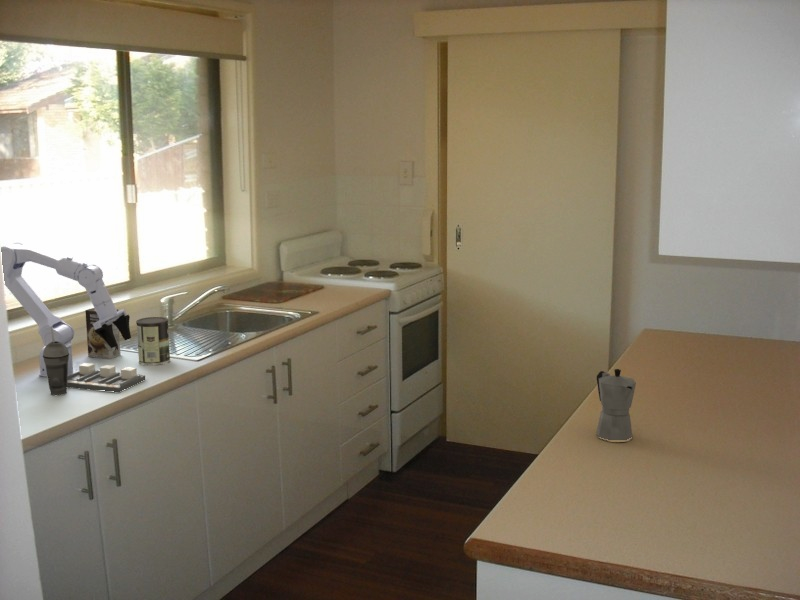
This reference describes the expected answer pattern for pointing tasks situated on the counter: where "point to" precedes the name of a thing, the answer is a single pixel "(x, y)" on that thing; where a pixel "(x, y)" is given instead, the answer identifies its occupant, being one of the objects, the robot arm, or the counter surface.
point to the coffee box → (100, 338)
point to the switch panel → (102, 381)
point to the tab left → (86, 368)
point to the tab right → (128, 373)
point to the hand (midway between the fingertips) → (121, 343)
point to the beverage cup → (56, 366)
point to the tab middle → (107, 370)
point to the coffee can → (153, 341)
